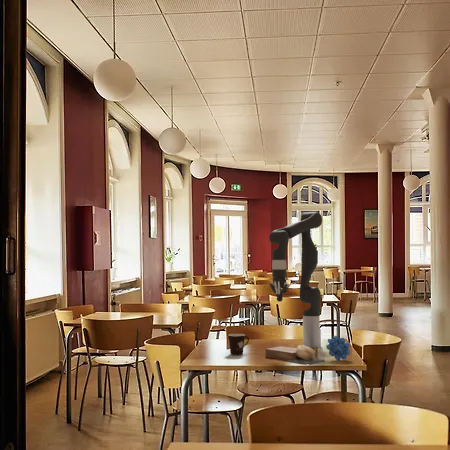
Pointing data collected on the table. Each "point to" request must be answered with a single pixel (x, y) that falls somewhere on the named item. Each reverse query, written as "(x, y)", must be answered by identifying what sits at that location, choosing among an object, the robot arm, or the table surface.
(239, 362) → the table surface
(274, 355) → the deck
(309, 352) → the tan domed disc
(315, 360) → the slate board
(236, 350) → the coffee mug
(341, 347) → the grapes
